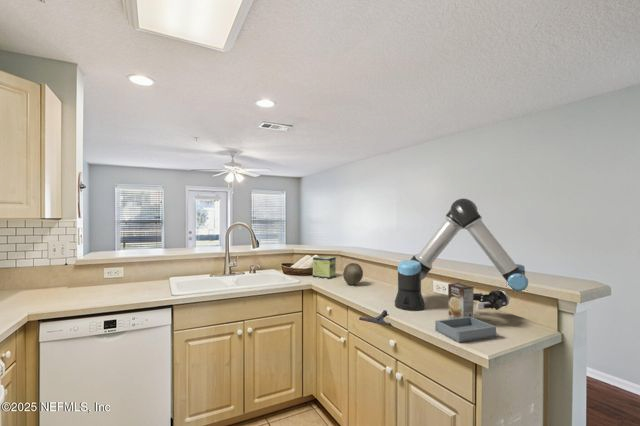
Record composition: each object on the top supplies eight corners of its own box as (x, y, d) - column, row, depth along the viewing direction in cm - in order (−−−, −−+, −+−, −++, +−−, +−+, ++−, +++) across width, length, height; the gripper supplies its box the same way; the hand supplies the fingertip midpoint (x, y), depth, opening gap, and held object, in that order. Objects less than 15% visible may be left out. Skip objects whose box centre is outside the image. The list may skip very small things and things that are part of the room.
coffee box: (447, 318, 139) (447, 283, 139) (457, 316, 141) (457, 282, 142) (463, 325, 131) (463, 287, 131) (474, 323, 133) (474, 286, 133)
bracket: (400, 318, 142) (400, 312, 142) (389, 327, 129) (389, 320, 129) (371, 313, 149) (371, 307, 149) (359, 321, 137) (359, 315, 137)
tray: (435, 330, 124) (435, 320, 124) (470, 325, 130) (470, 316, 130) (458, 342, 112) (458, 332, 112) (496, 337, 117) (496, 326, 117)
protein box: (329, 279, 229) (329, 258, 229) (312, 277, 237) (312, 257, 237) (336, 277, 238) (336, 257, 238) (319, 275, 246) (319, 256, 246)
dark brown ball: (339, 285, 207) (339, 263, 207) (348, 282, 219) (348, 261, 219) (358, 288, 199) (358, 265, 200) (366, 284, 211) (366, 262, 212)
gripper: (526, 314, 131) (488, 319, 124) (479, 299, 155) (445, 303, 148) (525, 297, 131) (488, 301, 124) (479, 285, 155) (445, 287, 148)
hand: (465, 302), depth 136 cm, fingers open, 13 cm apart
